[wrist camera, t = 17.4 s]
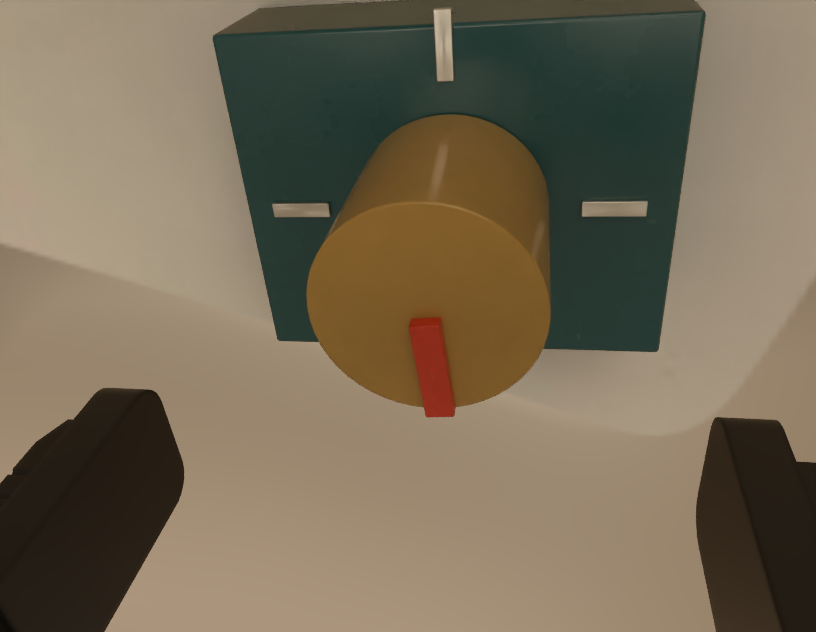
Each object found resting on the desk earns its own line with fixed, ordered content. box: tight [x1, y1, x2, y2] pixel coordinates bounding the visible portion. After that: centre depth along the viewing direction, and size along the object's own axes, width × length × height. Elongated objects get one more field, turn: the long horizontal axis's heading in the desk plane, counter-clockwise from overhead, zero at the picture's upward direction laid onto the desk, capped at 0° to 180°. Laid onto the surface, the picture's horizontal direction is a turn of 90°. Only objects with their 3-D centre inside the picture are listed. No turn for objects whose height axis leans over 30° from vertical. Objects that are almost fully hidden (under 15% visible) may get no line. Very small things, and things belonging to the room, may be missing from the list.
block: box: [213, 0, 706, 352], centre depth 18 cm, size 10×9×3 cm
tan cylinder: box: [306, 114, 551, 417], centre depth 14 cm, size 4×4×5 cm
